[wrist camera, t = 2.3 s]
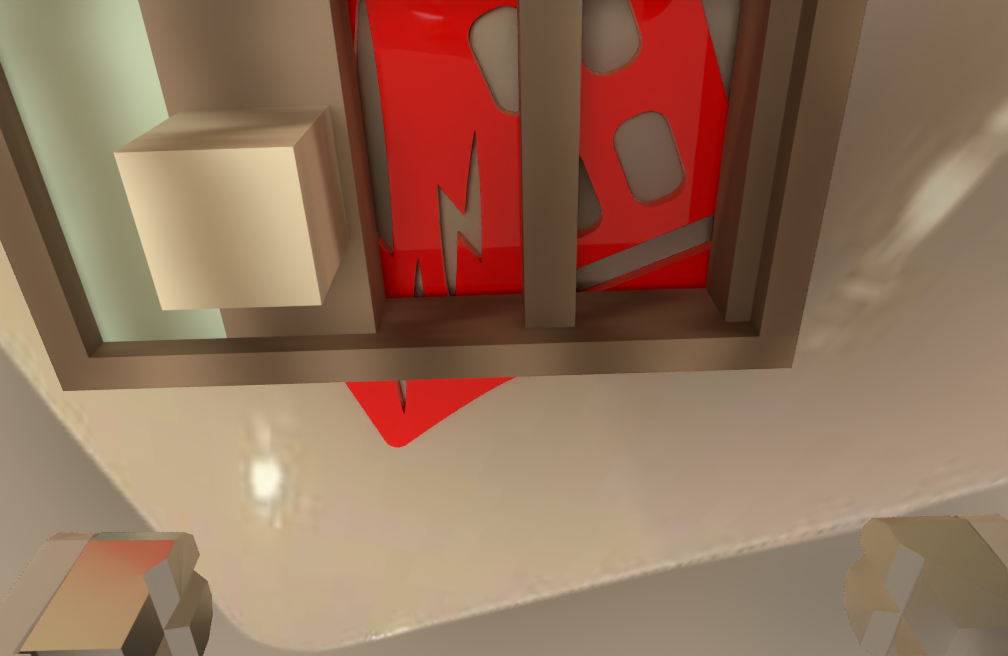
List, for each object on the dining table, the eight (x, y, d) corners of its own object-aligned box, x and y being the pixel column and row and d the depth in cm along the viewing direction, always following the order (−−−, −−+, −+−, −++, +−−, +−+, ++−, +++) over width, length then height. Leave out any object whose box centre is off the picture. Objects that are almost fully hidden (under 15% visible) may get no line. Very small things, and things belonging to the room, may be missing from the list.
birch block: (329, 104, 24) (292, 146, 20) (349, 241, 27) (321, 304, 22) (181, 109, 24) (113, 152, 20) (216, 245, 27) (162, 310, 22)
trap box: (829, -101, 24) (888, -104, 20) (757, 316, 32) (791, 367, 28) (-34, -71, 24) (-128, -68, 20) (111, 336, 32) (63, 390, 28)
